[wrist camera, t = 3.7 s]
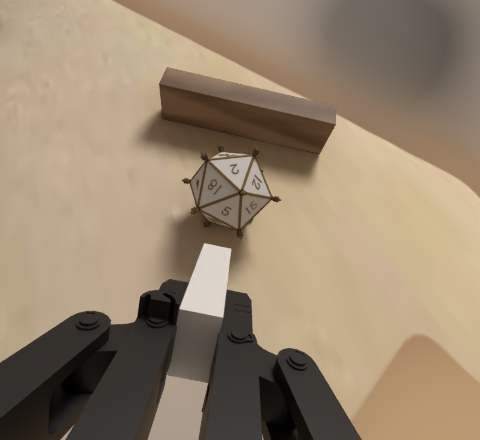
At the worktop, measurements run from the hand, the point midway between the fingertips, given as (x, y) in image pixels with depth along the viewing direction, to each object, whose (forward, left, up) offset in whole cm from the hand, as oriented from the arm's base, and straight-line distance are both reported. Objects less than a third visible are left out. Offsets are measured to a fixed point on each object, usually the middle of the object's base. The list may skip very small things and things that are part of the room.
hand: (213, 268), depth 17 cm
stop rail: (-24, 0, -12) cm, 27 cm away
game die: (-11, 0, -12) cm, 17 cm away
